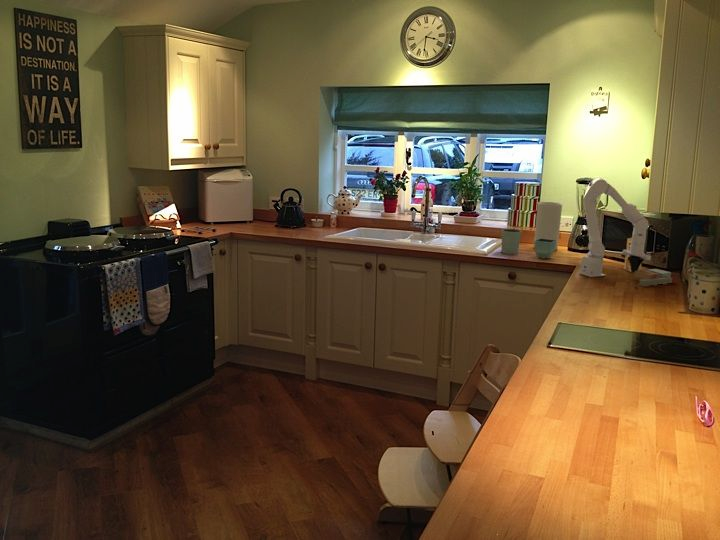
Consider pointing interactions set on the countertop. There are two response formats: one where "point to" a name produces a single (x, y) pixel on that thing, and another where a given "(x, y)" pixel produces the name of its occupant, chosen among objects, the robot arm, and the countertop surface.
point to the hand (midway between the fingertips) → (633, 272)
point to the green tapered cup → (510, 241)
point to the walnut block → (644, 275)
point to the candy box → (627, 263)
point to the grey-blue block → (661, 273)
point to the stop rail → (655, 281)
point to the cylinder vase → (548, 221)
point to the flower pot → (544, 247)
